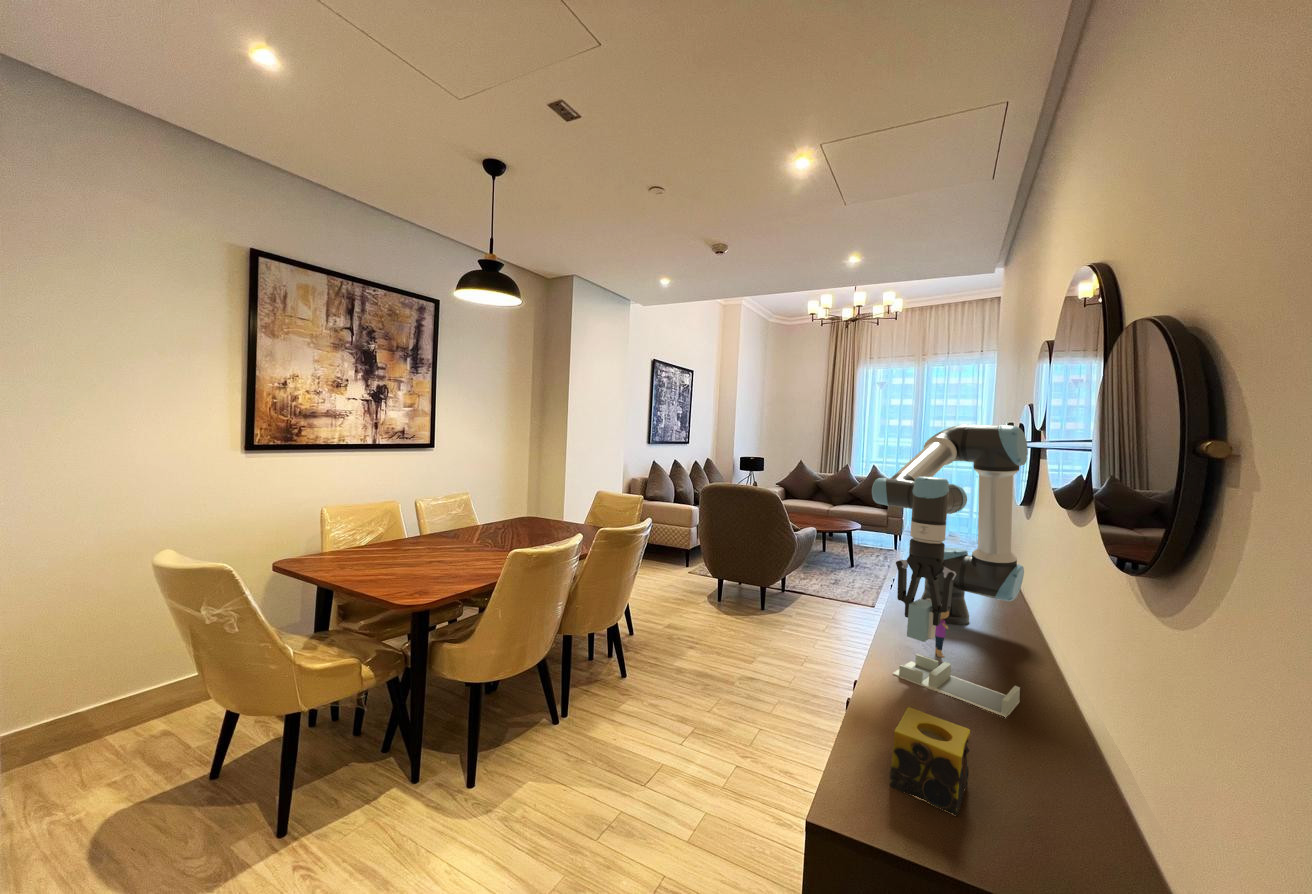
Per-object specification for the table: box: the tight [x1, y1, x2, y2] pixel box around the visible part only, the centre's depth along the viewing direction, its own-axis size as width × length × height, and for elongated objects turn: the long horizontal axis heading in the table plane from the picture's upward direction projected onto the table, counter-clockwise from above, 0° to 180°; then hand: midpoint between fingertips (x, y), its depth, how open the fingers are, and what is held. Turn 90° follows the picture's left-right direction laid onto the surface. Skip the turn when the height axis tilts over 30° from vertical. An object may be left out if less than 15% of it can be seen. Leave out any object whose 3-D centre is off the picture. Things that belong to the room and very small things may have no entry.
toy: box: [926, 599, 949, 658], centre depth 136 cm, size 10×6×15 cm, turn 168°
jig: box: [892, 653, 1021, 719], centre depth 118 cm, size 11×24×4 cm, turn 42°
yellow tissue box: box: [889, 706, 971, 816], centre depth 83 cm, size 10×10×10 cm
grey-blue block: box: [906, 598, 933, 643], centre depth 123 cm, size 7×4×8 cm, turn 132°
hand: (921, 634), depth 123 cm, fingers closed on grey-blue block, 4 cm apart
